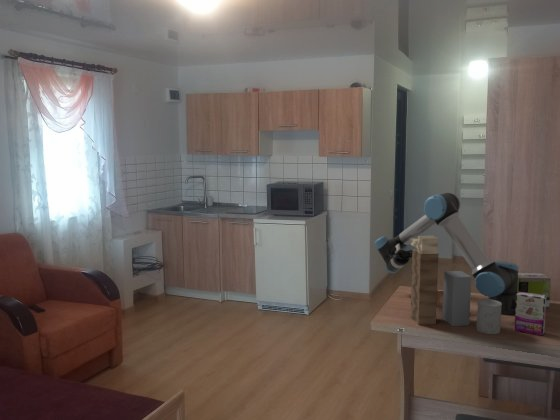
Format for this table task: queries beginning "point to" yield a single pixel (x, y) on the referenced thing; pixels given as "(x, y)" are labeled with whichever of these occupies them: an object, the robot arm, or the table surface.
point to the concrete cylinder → (489, 316)
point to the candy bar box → (530, 313)
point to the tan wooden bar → (425, 244)
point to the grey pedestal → (456, 298)
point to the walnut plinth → (424, 287)
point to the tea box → (534, 284)
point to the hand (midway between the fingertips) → (413, 245)
